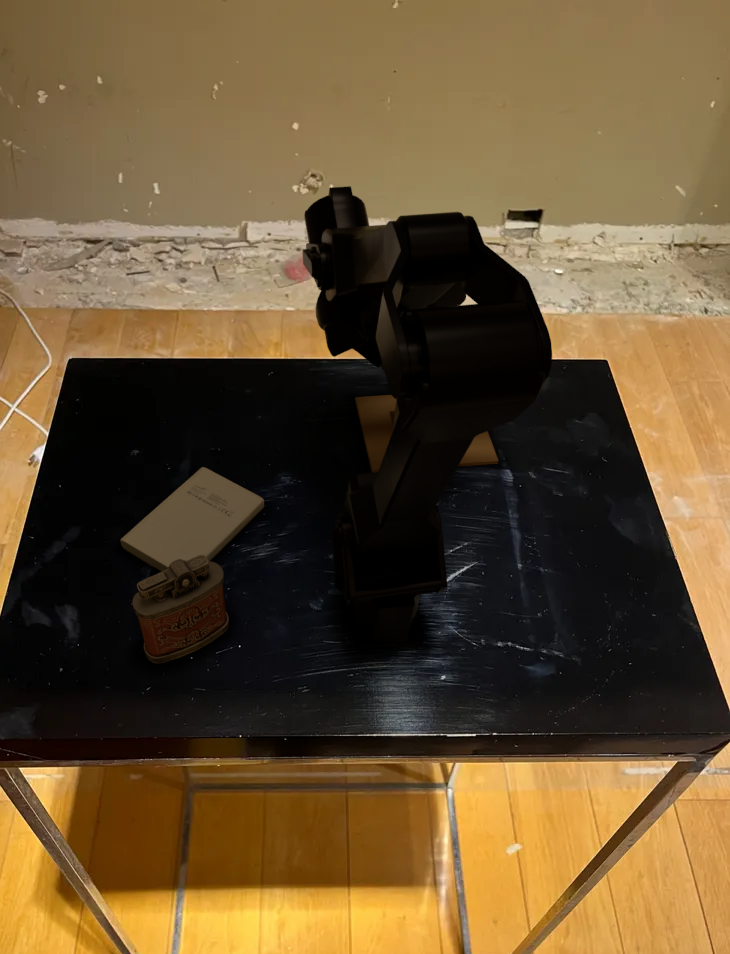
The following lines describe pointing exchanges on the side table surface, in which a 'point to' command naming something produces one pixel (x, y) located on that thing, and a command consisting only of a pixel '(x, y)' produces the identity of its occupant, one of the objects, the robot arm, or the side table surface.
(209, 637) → the lighter
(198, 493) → the hard drive
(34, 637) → the side table surface
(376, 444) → the board
